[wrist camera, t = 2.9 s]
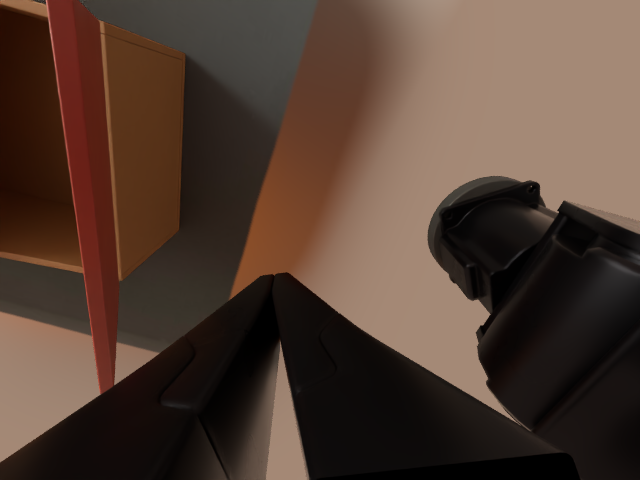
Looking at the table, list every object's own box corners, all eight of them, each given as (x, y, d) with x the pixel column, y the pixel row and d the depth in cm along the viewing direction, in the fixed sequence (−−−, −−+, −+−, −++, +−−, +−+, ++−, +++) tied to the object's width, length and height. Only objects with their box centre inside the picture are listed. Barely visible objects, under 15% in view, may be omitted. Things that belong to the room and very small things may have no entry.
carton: (185, 53, 16) (88, 15, 9) (179, 230, 21) (112, 290, 14) (-56, -17, 15) (-380, -122, 8) (-3, 190, 20) (-175, 235, 13)
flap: (84, 15, 9) (99, 21, 10) (110, 288, 14) (119, 287, 15) (43, -17, 5) (72, -8, 5) (100, 395, 10) (114, 391, 10)
